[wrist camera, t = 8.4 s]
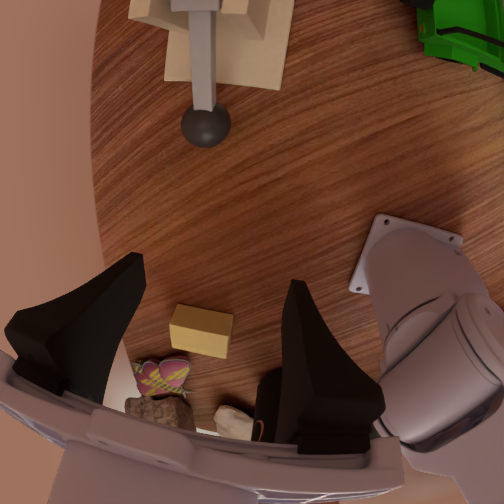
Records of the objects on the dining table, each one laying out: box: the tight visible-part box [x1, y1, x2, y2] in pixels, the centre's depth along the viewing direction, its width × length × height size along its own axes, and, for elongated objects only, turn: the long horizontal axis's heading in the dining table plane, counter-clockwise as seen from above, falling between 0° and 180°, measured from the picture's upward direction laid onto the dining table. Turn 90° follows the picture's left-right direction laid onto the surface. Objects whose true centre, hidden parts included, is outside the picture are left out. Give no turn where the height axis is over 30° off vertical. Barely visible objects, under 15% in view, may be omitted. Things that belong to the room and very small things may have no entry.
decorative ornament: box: [132, 356, 197, 398], centre depth 38 cm, size 17×2×10 cm
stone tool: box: [214, 405, 254, 441], centre depth 45 cm, size 13×28×5 cm, turn 15°
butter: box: [169, 304, 233, 359], centre depth 30 cm, size 6×4×3 cm, turn 83°
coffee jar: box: [251, 368, 339, 504], centre depth 29 cm, size 11×11×18 cm
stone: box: [125, 396, 196, 432], centre depth 42 cm, size 13×17×15 cm
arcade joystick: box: [171, 0, 231, 148], centre depth 12 cm, size 12×3×3 cm, turn 173°
